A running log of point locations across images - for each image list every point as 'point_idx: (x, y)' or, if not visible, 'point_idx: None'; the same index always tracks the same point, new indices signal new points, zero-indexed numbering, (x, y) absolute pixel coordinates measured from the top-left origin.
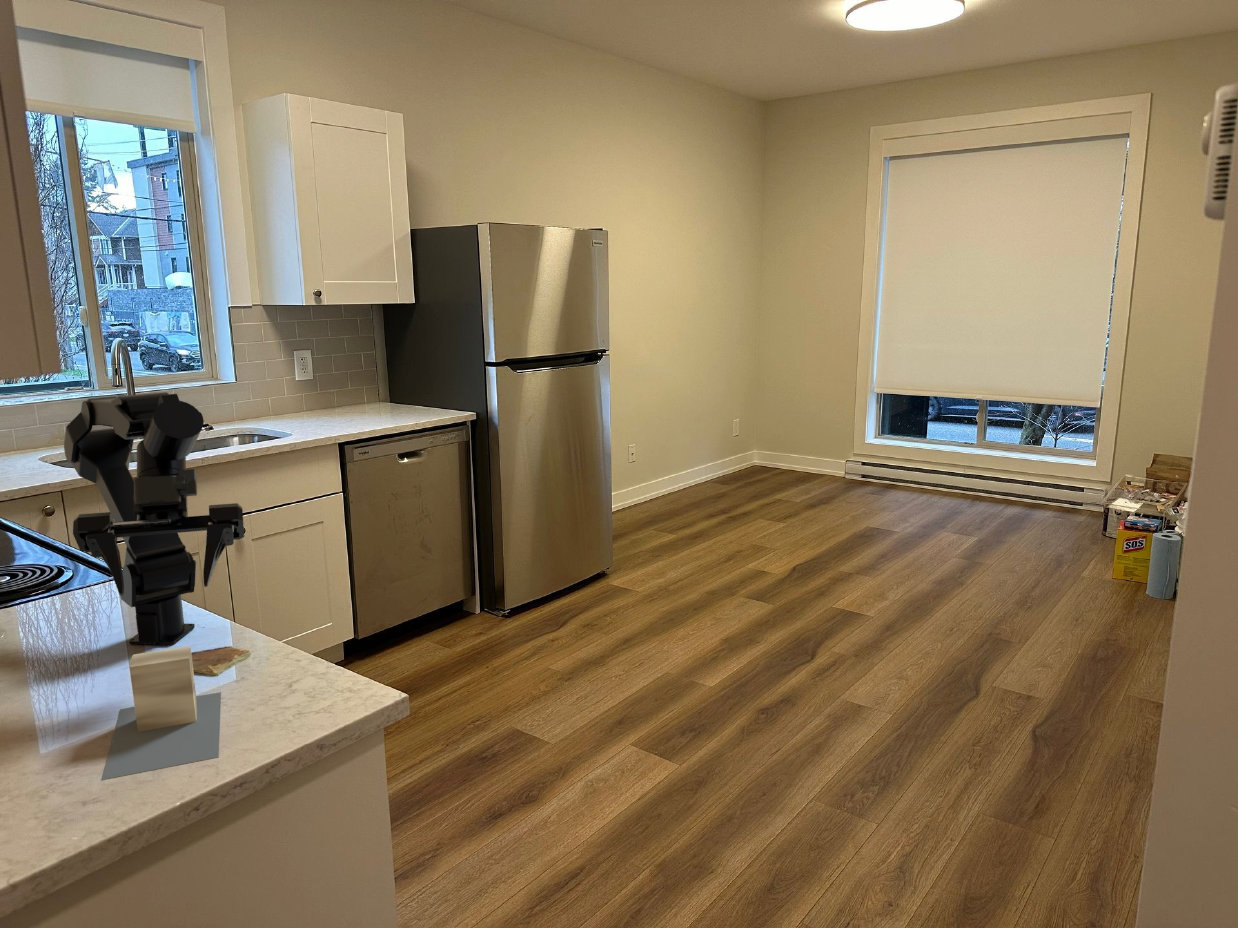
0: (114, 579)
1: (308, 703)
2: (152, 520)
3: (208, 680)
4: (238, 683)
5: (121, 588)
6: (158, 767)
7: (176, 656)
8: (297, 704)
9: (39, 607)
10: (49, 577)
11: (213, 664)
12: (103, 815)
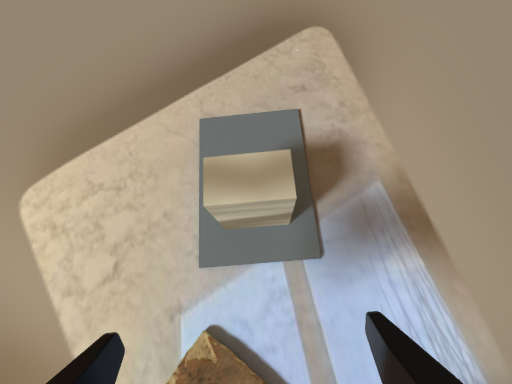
0: (419, 348)
1: (105, 209)
2: None
3: (218, 327)
4: (178, 299)
5: (374, 317)
6: (251, 115)
7: (223, 169)
8: (117, 211)
9: None
10: None
11: (208, 362)
12: (283, 69)
